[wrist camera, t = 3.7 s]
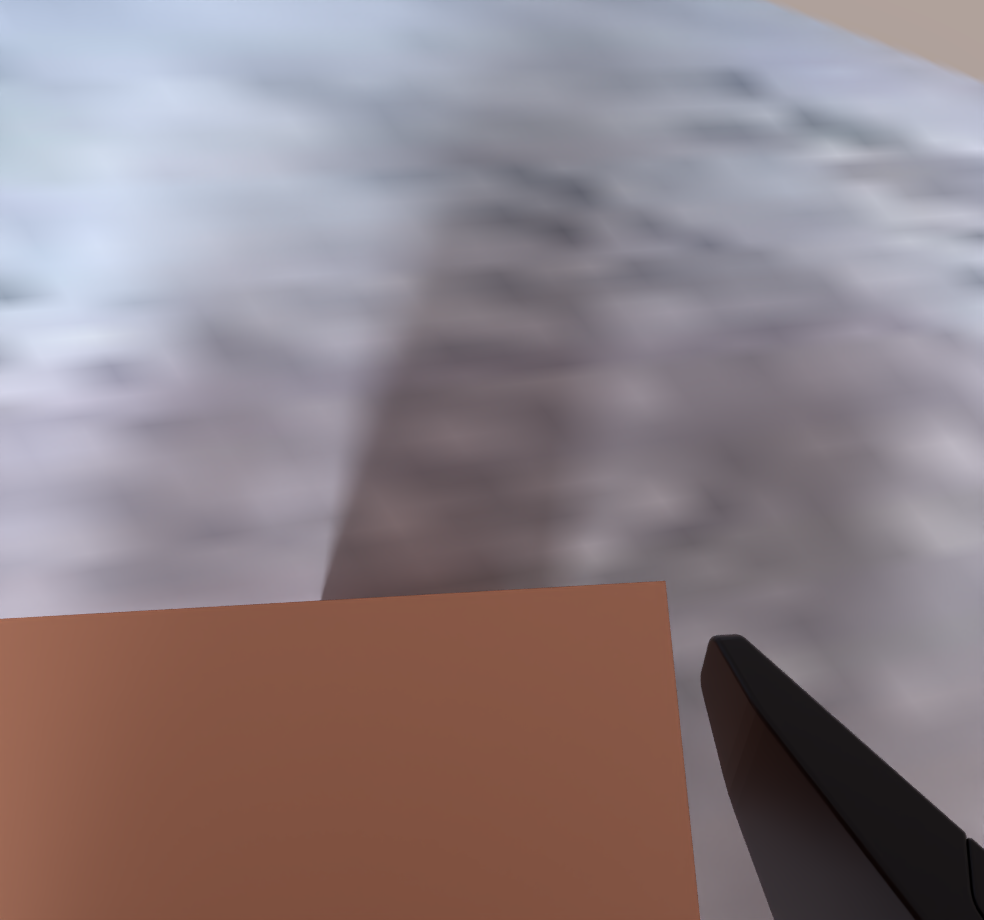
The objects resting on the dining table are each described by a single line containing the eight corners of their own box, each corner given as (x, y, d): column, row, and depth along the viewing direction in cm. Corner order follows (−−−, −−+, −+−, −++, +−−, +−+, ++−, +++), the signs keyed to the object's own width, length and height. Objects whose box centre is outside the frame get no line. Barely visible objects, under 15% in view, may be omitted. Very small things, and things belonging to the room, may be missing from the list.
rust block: (521, 795, 16) (754, 1454, 4) (321, 811, 16) (-158, 1585, 3) (509, 594, 17) (665, 580, 5) (319, 605, 16) (-67, 622, 4)
